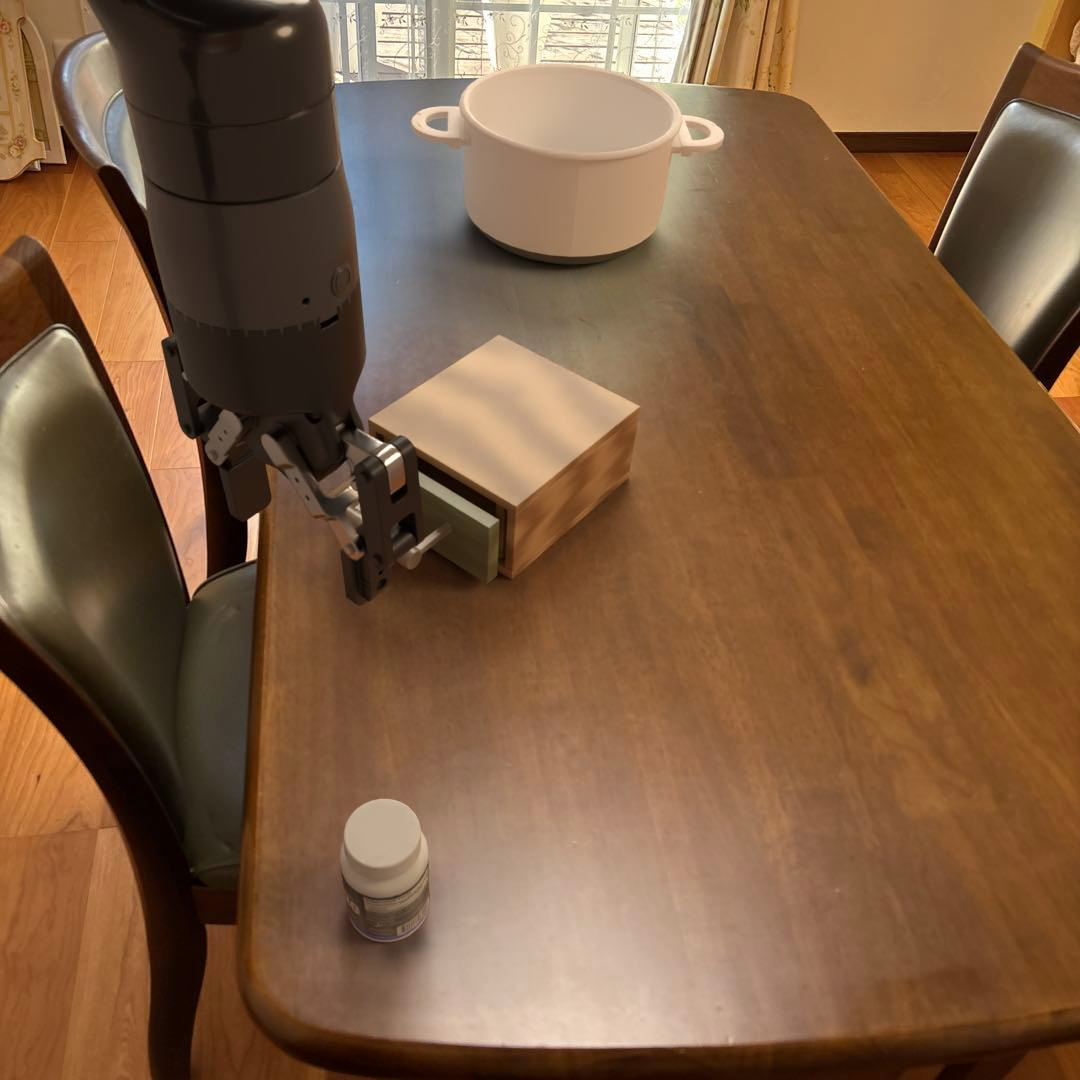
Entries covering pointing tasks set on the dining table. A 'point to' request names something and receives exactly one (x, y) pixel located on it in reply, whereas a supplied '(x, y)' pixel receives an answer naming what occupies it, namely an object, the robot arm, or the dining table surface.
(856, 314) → the dining table surface
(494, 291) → the dining table surface
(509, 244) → the pot
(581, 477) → the cabinet
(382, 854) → the pill bottle
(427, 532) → the drawer
